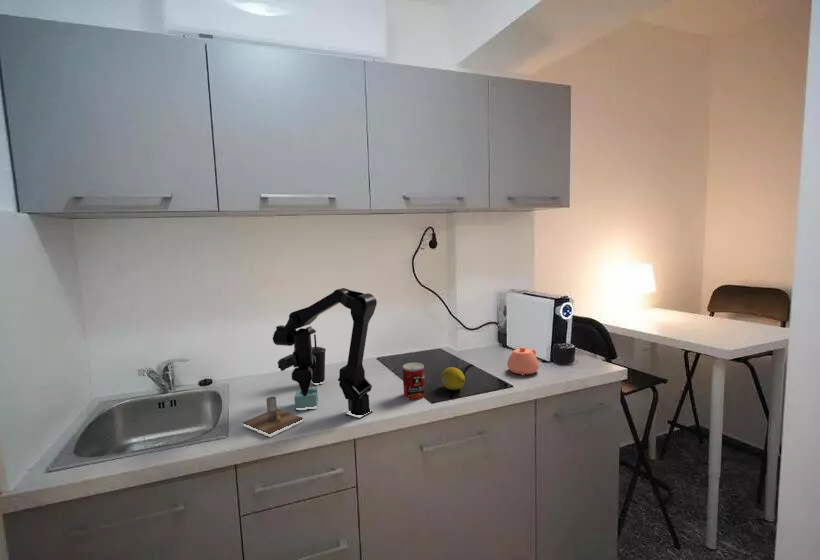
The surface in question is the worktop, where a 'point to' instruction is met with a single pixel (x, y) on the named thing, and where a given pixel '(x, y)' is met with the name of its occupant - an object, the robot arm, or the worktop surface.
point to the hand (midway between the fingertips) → (306, 390)
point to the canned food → (413, 380)
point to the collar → (306, 398)
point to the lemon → (453, 378)
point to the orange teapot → (523, 361)
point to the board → (272, 425)
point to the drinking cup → (318, 363)
